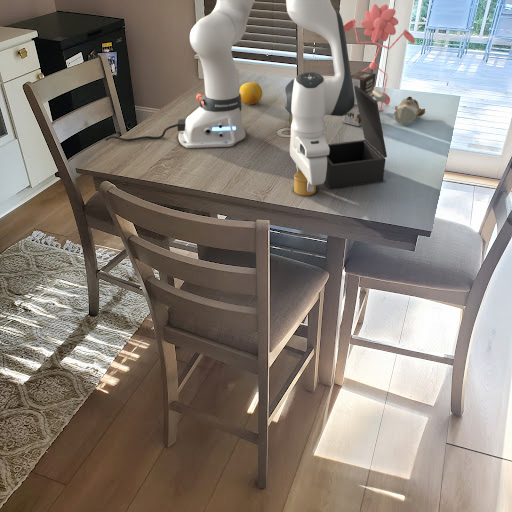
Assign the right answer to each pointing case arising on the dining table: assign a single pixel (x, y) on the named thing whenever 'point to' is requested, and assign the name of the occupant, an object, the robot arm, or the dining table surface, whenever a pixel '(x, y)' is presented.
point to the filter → (301, 184)
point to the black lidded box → (353, 164)
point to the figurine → (379, 31)
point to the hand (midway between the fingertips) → (305, 184)
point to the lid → (371, 118)
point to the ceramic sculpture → (407, 111)
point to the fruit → (250, 93)
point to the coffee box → (364, 83)
